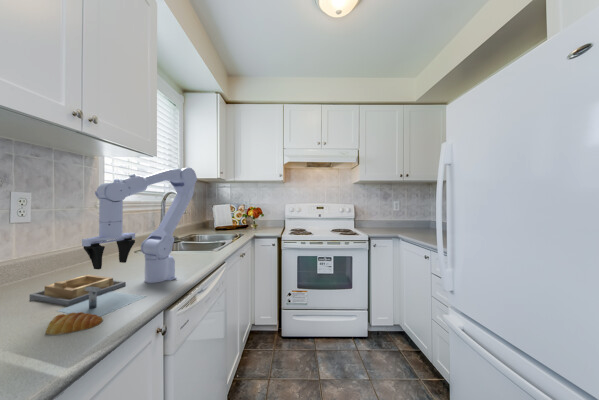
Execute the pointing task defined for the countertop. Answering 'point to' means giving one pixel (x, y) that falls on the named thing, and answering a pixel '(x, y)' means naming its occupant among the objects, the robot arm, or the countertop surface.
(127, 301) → the stake base
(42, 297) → the tray
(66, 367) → the countertop surface
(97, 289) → the stake post
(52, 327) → the pastry
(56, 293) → the wooden frame
